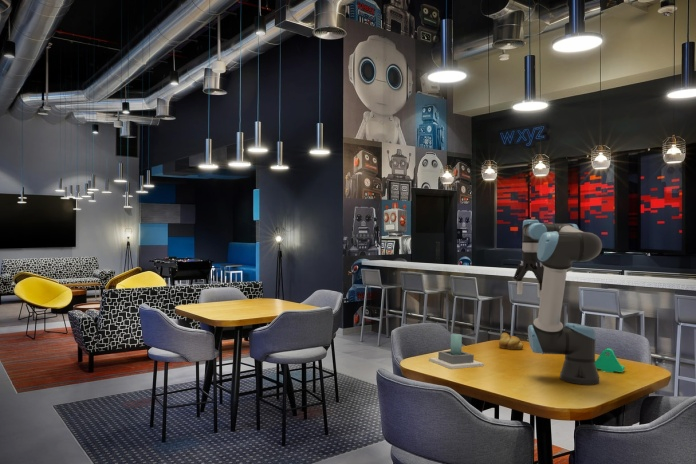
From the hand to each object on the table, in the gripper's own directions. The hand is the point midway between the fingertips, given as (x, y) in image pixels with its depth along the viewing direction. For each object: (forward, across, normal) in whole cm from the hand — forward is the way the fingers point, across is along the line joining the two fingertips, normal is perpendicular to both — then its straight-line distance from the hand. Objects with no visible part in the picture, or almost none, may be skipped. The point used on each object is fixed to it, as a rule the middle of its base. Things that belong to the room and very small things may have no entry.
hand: (529, 295), depth 262 cm
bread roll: (+32, +29, -14) cm, 46 cm away
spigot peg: (+30, +9, +36) cm, 48 cm away
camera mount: (+32, -26, -23) cm, 47 cm away
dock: (+32, +9, +36) cm, 49 cm away
